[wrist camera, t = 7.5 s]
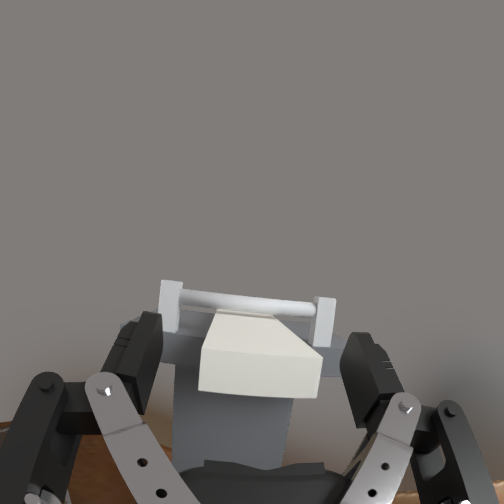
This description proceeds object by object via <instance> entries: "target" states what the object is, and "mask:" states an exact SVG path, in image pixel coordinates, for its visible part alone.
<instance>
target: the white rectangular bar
mask: <svg viewBox="0 0 504 504" xmlns="http://www.w3.org/2000/svg"><path fill="white" fill-rule="evenodd" d="M322 362H323V357H322V356H321V355H319V354H318V353H317V352H316V351H315V350H313V349H312V348H311V347H310V346H308V345H307V344H306V343H305V342H304V341H302V340H301V339H300V338H299V337H298V336H296V335H295V334H294V333H293V332H292V331H290V330H289V329H288V328H287V327H286V326H285V325H283V324H282V323H281V322H280V321H279V320H277V319H276V318H275V317H274V316H273V315H270V314H260V313H250V312H240V311H231V310H223V309H217V311H216V314H215V316H214V319H213V321H212V323H211V326H210V328H209V331H208V333H207V336H206V338H205V341H204V343H203V346H202V349H201V360H200V372H199V385H198V390H199V391H207V392H216V393H225V394H236V395H248V396H262V397H282V398H316V397H317V392H318V386H319V380H320V374H321V368H322Z"/></svg>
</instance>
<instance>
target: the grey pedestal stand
mask: <svg viewBox="0 0 504 504" xmlns="http://www.w3.org/2000/svg"><path fill="white" fill-rule="evenodd" d="M182 285H183V282H177V281H170V280H161V288H160V298H159V308H158V309H157V310H155V311H152V312H154V313H161V314H162V325H163V352H162V356H161V359H160V362H163V363H169V364H175V365H176V366H175V381H174V402H173V426H172V465H173V466H174V468H175V469H176V471H177V472H178V473H179V472H182V471H184V470H187V469H190V468H195V467H203V466H204V460H214V461H224V462H235V463H239V464H243V465H246V466H250V467H254V468H258V469H262V470H270V469H275V468H280V467H281V464H282V460H283V455H284V450H285V444H286V439H287V433H288V428H289V423H290V417H291V411H292V405H293V399H294V398H282V397H262V396H248V395H236V394H225V393H216V392H207V391H199V390H198V385H199V372H200V360H201V349H202V346H203V343H204V341H205V338H206V336H207V333H208V331H209V328H210V326H211V323H212V321H213V319H214V316H215V314H212V313H203V312H195V311H188V310H181V309H180V304H183V305H190V306H198V307H207V308H214V309H223V310H231V311H240V312H250V313H260V314H270V315H282V316H294V317H306V318H311V323H304V322H292V321H280V322H281V323H282V324H283V325H285V326H286V327H287V328H288V329H289V330H290V331H292V332H293V333H294V334H295V335H296V336H298V337H299V338H300V339H301V340H302V341H304V342H305V343H306V344H307V345H308V346H310V347H311V348H312V349H313V350H315V351H316V352H317V353H318V354H319V355H321V356H322V357H323V362H322V368H321V374H320V377H342V376H341V373H340V367H339V364H340V358H341V355H342V353H343V351H344V348H345V346H346V343H347V341H348V340H346V339H344V338H342V337H340V336H338V335H336V334H334V333H332V330H333V323H334V315H335V306H336V299H333V298H324V297H314V301H313V303H309V302H298V301H286V300H275V299H266V298H256V297H247V296H237V295H229V294H221V293H212V292H204V291H196V290H188V289H182ZM140 317H141V316H140ZM140 317H137V318H135V319H133V320H130V321H134V322H138V321H139V319H140ZM130 321H128V322H125V323H123V324H121V325H120V331H121V329H122V327H124V326H125V325H126V324H127V323H129V322H130Z"/></svg>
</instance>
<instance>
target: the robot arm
mask: <svg viewBox="0 0 504 504" xmlns="http://www.w3.org/2000/svg"><path fill="white" fill-rule="evenodd" d="M162 352H163V325H162V314H161V313H154V312H148V311H144V312H143V313H142V315H141V317H140V319H139V321H138V322H134V321H130V322H129V323H127V324H126V325H125V326H124V327H122V329H121V331H120V333H119V335H118V337H117V339H116V341H115V343H114V346H113V347H112V349H111V351H110V353H109V355H108V357H107V359H106V361H105V363H104V365H103V367H102V370H101V371H100V372H99V373H96V374H94V375H92V376H91V377H90V378H88V380H87V381H86V382H67V383H66V382H63V379H62V378H61V377H60V376H59V375H58V374H56V373H54V372H44V373H41V374H38V375H37V376H35V377H34V379H33V380H32V381H31V384H30V385H29V387H28V389H27V391H26V393H25V395H24V397H23V399H22V401H21V403H20V405H19V407H18V410H17V412H16V414H15V416H14V418H13V420H12V423H11V425H10V427H9V429H8V432H7V434H6V436H5V439H4V441H3V443H2V446H1V448H0V504H64V501H65V497H66V492H67V488H68V484H69V480H70V476H71V472H72V469H73V465H74V461H75V458H76V454H77V451H78V447H79V444H80V440H81V437H82V435H103V437H104V440H105V442H106V444H107V446H108V449H109V451H110V453H111V455H112V457H113V459H114V461H115V463H116V465H117V467H118V469H119V471H120V473H121V475H122V477H123V478H124V480H125V482H126V484H127V486H128V488H129V489H130V491H131V493H132V495H133V496H134V498H135V500H136V501H137V503H136V504H391V503H392V501H393V499H394V497H395V494H396V492H397V490H398V487H399V485H400V483H401V480H402V478H403V476H404V473H405V471H406V468H407V466H408V463H409V460H410V463H411V467H412V470H413V474H414V478H415V482H416V486H417V490H418V494H419V499H420V503H421V504H499V501H498V498H497V495H496V492H495V489H494V486H493V483H492V481H491V478H490V475H489V472H488V469H487V467H486V464H485V461H484V459H483V456H482V454H481V451H480V449H479V446H478V444H477V442H476V439H475V437H474V435H473V432H472V430H471V428H470V425H469V423H468V421H467V419H466V416H465V414H464V412H463V410H462V408H461V407H460V406H459V405H458V404H457V403H455V402H454V401H451V400H444V401H442V402H441V403H440V404H439V405H438V406H437V407H436V408H433V407H428V406H422V405H420V403H419V401H418V399H417V398H416V397H414V396H413V395H411V394H409V393H405V392H404V390H403V387H402V385H401V383H400V381H399V379H398V376H397V374H396V372H395V370H394V369H393V366H392V364H391V362H390V359H389V357H388V355H387V353H386V352H385V350H384V349H383V348H382V347H380V346H379V344H374V341H373V339H372V337H371V335H370V334H369V333H367V332H352V333H351V334H350V336H349V338H348V341H347V343H346V346H345V348H344V351H343V353H342V355H341V358H340V364H339V367H340V373H341V376H342V379H343V383H344V386H345V389H346V393H347V396H348V399H349V403H350V406H351V410H352V413H353V417H354V421H355V424H356V428H366V429H367V433H366V435H365V436H364V438H363V440H362V442H361V444H360V445H359V447H358V449H357V451H356V453H355V454H354V456H353V458H352V460H351V461H350V463H349V465H348V466H347V468H346V469H345V470H344V472H343V473H342V474H338V473H335V472H333V471H329V470H325V468H324V463H323V462H321V463H300V464H292V465H289V466H285V467H280V468H275V469H270V470H262V469H258V468H254V467H250V466H246V465H243V464H239V463H235V462H224V461H214V460H204V466H203V467H195V468H190V469H187V470H184V471H182V472H179V473H178V472H177V471H176V469H175V468H174V466H173V465H172V463H171V462H170V460H169V459H168V457H167V456H166V454H165V453H164V451H163V450H162V448H161V446H160V445H159V443H158V442H157V440H156V438H155V437H154V435H153V434H152V432H151V430H150V429H149V427H148V425H147V424H146V423H144V422H143V421H142V420H141V418H140V416H139V414H140V415H144V414H145V410H146V407H147V403H148V400H149V396H150V393H151V389H152V386H153V382H154V379H155V376H156V372H157V369H158V366H159V362H160V359H161V356H162ZM439 445H441V447H442V449H443V452H444V455H445V458H446V463H445V465H444V462H443V459H442V456H441V454H440V450H439Z"/></svg>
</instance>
